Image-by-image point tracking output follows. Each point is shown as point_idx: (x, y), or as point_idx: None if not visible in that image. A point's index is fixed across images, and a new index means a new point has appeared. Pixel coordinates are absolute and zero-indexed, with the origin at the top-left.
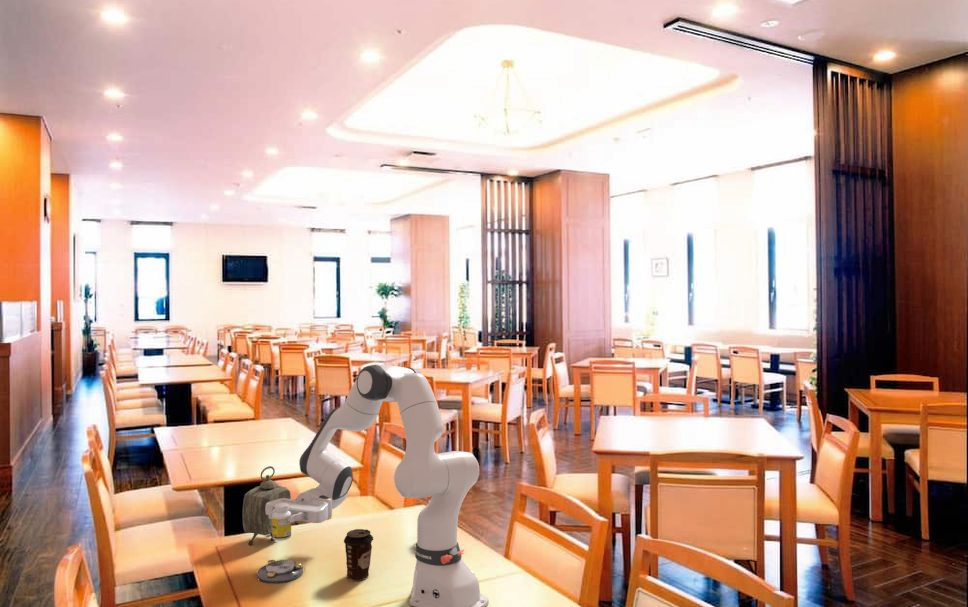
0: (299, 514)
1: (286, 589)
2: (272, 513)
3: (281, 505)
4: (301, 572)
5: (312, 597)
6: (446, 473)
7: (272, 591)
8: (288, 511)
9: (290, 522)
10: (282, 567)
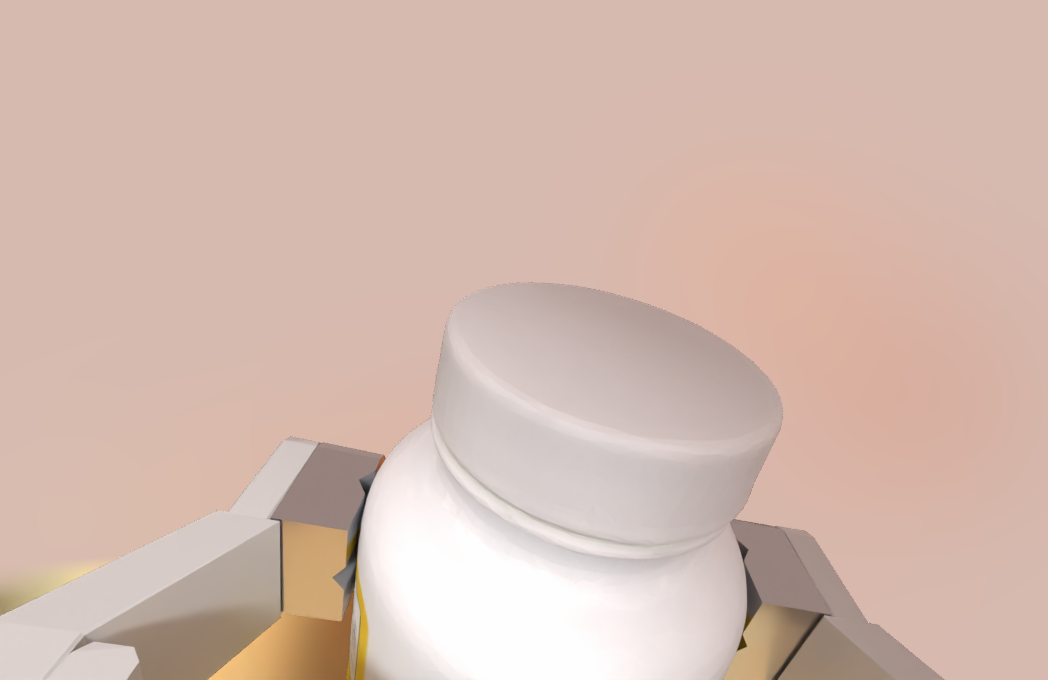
0: (87, 576)
1: (267, 645)
2: (747, 525)
3: (596, 332)
4: None
5: (54, 585)
6: None
7: (350, 599)
8: (446, 526)
9: (350, 647)
10: None
